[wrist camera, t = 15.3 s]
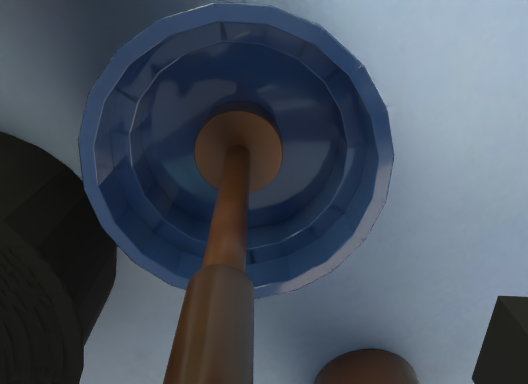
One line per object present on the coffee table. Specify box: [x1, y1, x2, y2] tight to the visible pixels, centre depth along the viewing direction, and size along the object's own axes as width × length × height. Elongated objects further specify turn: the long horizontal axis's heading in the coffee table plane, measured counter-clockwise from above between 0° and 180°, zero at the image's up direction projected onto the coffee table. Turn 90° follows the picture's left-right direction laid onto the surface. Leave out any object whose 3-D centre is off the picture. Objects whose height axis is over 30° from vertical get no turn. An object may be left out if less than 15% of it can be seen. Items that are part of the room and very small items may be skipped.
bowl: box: [78, 2, 394, 299], centre depth 25 cm, size 16×16×6 cm
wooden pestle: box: [163, 101, 283, 384], centre depth 17 cm, size 5×5×22 cm
